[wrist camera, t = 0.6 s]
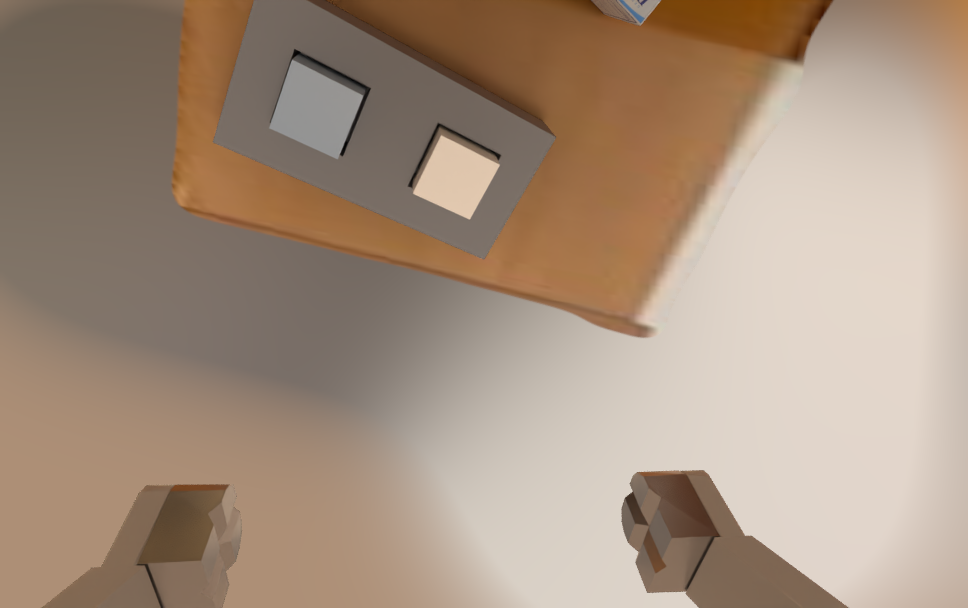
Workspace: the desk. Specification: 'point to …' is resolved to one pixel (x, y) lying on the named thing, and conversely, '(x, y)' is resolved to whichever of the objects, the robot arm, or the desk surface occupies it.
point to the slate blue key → (317, 106)
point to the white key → (455, 172)
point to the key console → (378, 120)
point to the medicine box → (627, 9)
